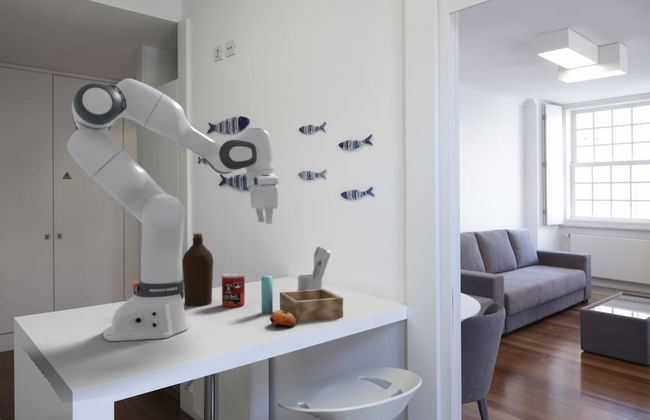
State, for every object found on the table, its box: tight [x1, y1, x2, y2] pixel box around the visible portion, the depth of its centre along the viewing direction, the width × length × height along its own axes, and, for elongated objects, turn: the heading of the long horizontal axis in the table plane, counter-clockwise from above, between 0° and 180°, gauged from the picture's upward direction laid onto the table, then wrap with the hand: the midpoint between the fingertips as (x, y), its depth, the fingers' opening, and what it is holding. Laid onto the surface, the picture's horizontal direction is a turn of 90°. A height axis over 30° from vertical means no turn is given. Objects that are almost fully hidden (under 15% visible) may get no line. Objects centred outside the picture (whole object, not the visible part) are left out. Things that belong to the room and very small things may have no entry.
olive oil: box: [182, 232, 214, 307], centre depth 167 cm, size 11×11×25 cm
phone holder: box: [296, 246, 331, 291], centre depth 183 cm, size 17×10×18 cm, turn 15°
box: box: [279, 288, 344, 323], centre depth 153 cm, size 16×16×6 cm
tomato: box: [269, 309, 297, 328], centre depth 139 cm, size 8×7×7 cm
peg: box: [261, 275, 274, 315], centre depth 153 cm, size 4×4×12 cm
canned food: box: [221, 272, 246, 309], centre depth 164 cm, size 8×8×11 cm
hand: (265, 222), depth 149 cm, fingers open, 8 cm apart
